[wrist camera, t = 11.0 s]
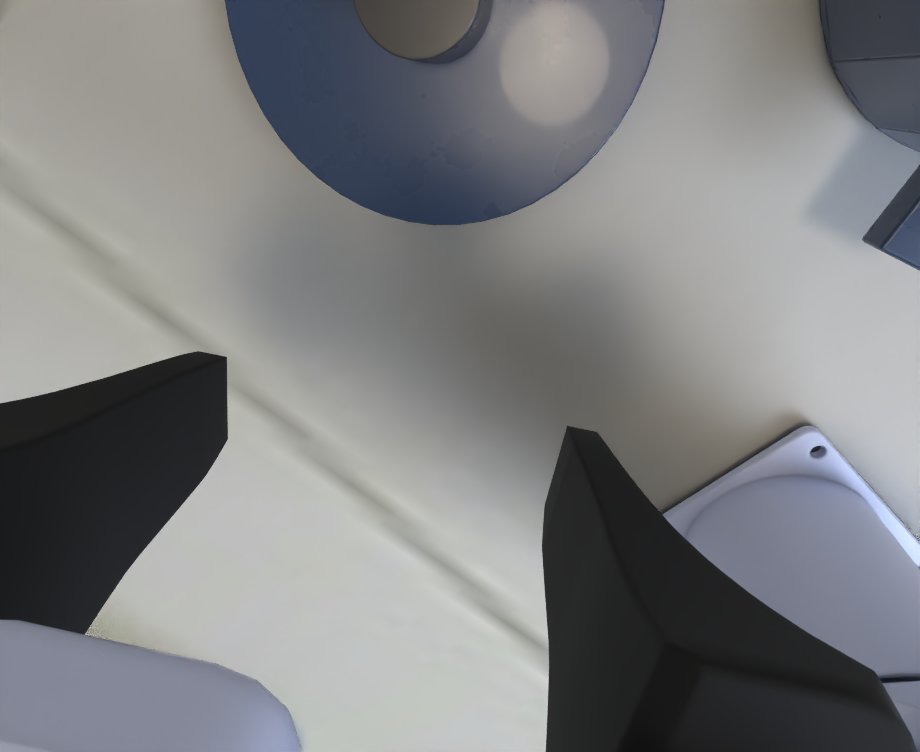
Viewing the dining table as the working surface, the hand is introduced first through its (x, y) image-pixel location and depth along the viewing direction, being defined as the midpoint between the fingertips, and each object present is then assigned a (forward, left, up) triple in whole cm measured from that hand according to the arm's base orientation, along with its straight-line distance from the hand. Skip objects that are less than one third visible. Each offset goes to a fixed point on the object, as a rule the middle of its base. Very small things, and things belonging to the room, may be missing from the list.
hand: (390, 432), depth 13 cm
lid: (+6, -6, -9) cm, 12 cm away
